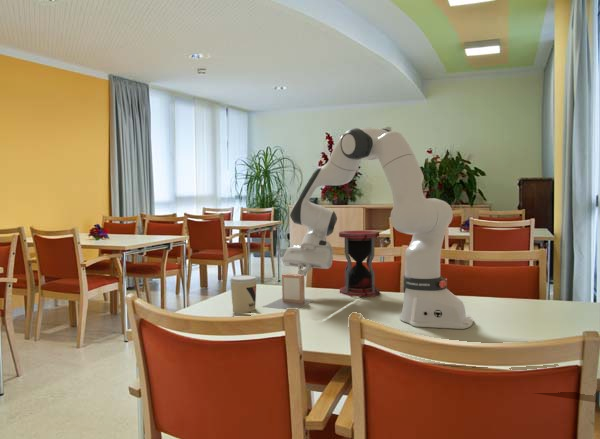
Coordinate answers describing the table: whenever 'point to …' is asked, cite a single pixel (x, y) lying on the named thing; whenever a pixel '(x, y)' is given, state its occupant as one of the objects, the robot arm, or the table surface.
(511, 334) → the table surface
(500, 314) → the table surface
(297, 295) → the picture frame
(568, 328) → the table surface
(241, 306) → the coffee cup
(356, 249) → the hourglass
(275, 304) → the slate board
